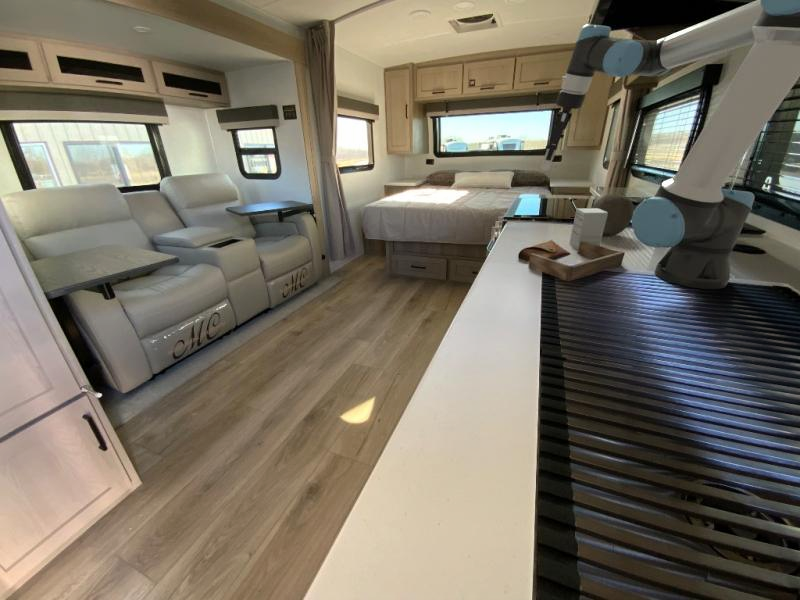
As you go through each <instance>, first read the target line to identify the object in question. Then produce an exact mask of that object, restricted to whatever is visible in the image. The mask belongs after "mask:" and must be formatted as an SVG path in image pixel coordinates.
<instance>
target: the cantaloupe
mask: <svg viewBox="0 0 800 600" xmlns="http://www.w3.org/2000/svg"><path fill="white" fill-rule="evenodd" d="M591 208H598V209H601V210H603V211H606V212H607V213H608V215H607V219H606V223H605V227H604V231H603V235H602V237H613V236H616V235H618V234H620V233H622V232H623V231H625V230H626V229H627V228H628V226H629V224H630V223H632V216H633V213H634V211H635V209H634V208H635V207H634V204H633V201H632V200H631V199H630V197H628V196H625V195H620V194H613V193H612V194H606V195H603V196H602V197H599V199H597V200H596V201H595V203H594V204H593V206H592V207H591Z"/></svg>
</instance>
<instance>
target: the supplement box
mask: <svg viewBox="0 0 800 600" xmlns="http://www.w3.org/2000/svg"><path fill="white" fill-rule="evenodd" d="M607 215H608V213H607V212H606V211H603V210H601V209H598V208H592V207H591V208H576V210H575V215H574V220H573V224H572V225H573V226H572V229H571V234H570V238H569V239H570V240H569V245H570V246H571V247H573V248H574V250H577V251H578V250H579V246H580V242H581V241H584V242H587V243H591V244H595V245H599V246H601V242H602V239H603V231H604V227H605V223H606V219H607Z"/></svg>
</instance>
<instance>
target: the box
mask: <svg viewBox="0 0 800 600" xmlns="http://www.w3.org/2000/svg"><path fill="white" fill-rule="evenodd" d="M625 253H626V252H625V251H622V250H618V249H614V248H611V247H606V246H603V245H600V246H599V245H595V244H591V243H587V242H584V241H581V242H580V246H579V250H577V254H578V255H582V256H585V257H588V258H592V259H590V260H585V261H583V262H579V263H576V264H573V265H569V264H566V263H563V262H560V261H559V260H558V261H557V260H556V259H554V260H552V259H549V258H546V257H543V256H540V255H537V254H534V253H532V254H530V260H529V262H528V266H530V267H529V268H531V267H532V269H533V268H535V269H534V270H536V269H538V270H537V271H539V270H540V271H539V272H541V271H542V272H541V273H544V274H548V275H549V274H550V276H552V277H555V278H557V277H558V279H560V280H563V281H566V282H569V283H570V282H572V280H573V281H575V279H576V280H577V279H578V278H579V279H582V278H585V277H588V276H591V275H594V273H595V274H598V273H600V272H603V271H607V270H610V269H614V268H616V267H619V266H622V265H623V264H622V263H623V260H624V257H625ZM587 275H588V276H587ZM584 276H585V277H584ZM581 277H582V278H581ZM579 279H578V280H579Z"/></svg>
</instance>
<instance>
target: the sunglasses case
mask: <svg viewBox="0 0 800 600" xmlns="http://www.w3.org/2000/svg"><path fill="white" fill-rule="evenodd" d="M532 253H534V254H537V255H540V256H543V257H546V258H549V259H552V260H553V259H554V260H556V259H559V258H562V257H564V256H568V255H571V252H569V251H567V250H566V249H564V248H563V247H561V246H560V245H559V244H558V243H556V242H555V241H553V239H550V240H549V241H545V242H542V243H539V244H535V245H532V246H530V247H525V248H523V249H522V250H520V251H519V253H518V255H517V256H518V257H517V258H518V260H520V259H521V261H523V260H525V261H524V262H527V261H529V260H530V254H532ZM561 256H562V257H561ZM558 257H559V258H558Z"/></svg>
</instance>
